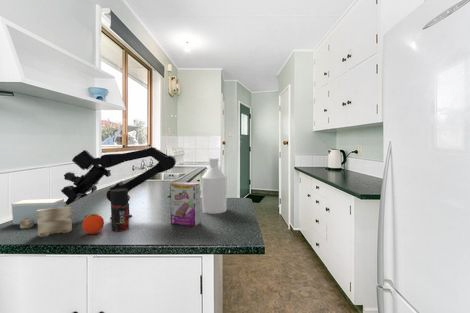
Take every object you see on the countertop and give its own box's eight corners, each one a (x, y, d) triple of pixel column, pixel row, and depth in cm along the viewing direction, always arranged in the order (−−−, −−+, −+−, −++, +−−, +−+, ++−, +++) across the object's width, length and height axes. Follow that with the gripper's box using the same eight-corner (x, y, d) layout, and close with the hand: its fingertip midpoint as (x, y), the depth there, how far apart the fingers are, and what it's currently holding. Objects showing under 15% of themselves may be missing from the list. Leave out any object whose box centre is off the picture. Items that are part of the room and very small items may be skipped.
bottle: (214, 215, 112) (213, 159, 111) (196, 210, 120) (195, 158, 119) (232, 209, 121) (231, 158, 120) (214, 206, 129) (214, 157, 128)
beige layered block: (71, 227, 97) (70, 204, 97) (72, 231, 93) (71, 207, 93) (38, 233, 91) (37, 209, 91) (38, 237, 87) (36, 212, 87)
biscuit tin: (64, 218, 111) (63, 198, 110) (54, 223, 104) (53, 202, 103) (25, 219, 110) (24, 199, 109) (12, 224, 102) (11, 203, 102)
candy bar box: (170, 224, 101) (169, 183, 100) (176, 220, 105) (176, 181, 104) (195, 227, 97) (194, 184, 96) (201, 223, 102) (200, 182, 101)
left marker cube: (33, 225, 101) (33, 218, 100) (28, 227, 98) (28, 220, 97) (25, 225, 100) (25, 218, 100) (20, 228, 97) (19, 220, 97)
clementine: (75, 235, 90) (74, 215, 89) (92, 228, 96) (92, 210, 96) (92, 237, 87) (91, 217, 86) (108, 231, 93) (108, 212, 93)
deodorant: (118, 233, 91) (116, 191, 90) (108, 230, 94) (106, 190, 94) (132, 228, 96) (131, 189, 95) (122, 225, 99) (121, 187, 99)
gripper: (88, 162, 116) (64, 187, 116) (64, 166, 97) (36, 196, 97) (107, 179, 117) (83, 203, 117) (87, 185, 99) (59, 215, 98)
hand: (66, 204), depth 107 cm, fingers closed
